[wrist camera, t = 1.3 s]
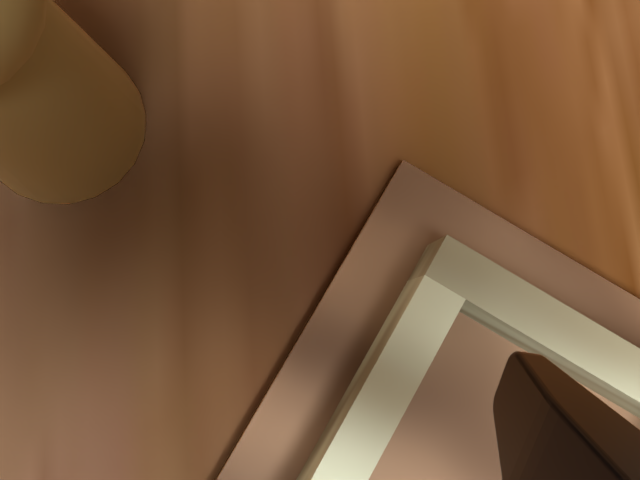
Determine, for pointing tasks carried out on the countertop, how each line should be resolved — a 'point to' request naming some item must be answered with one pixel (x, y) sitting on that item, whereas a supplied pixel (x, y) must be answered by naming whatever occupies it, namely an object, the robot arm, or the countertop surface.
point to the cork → (62, 107)
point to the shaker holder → (433, 345)
